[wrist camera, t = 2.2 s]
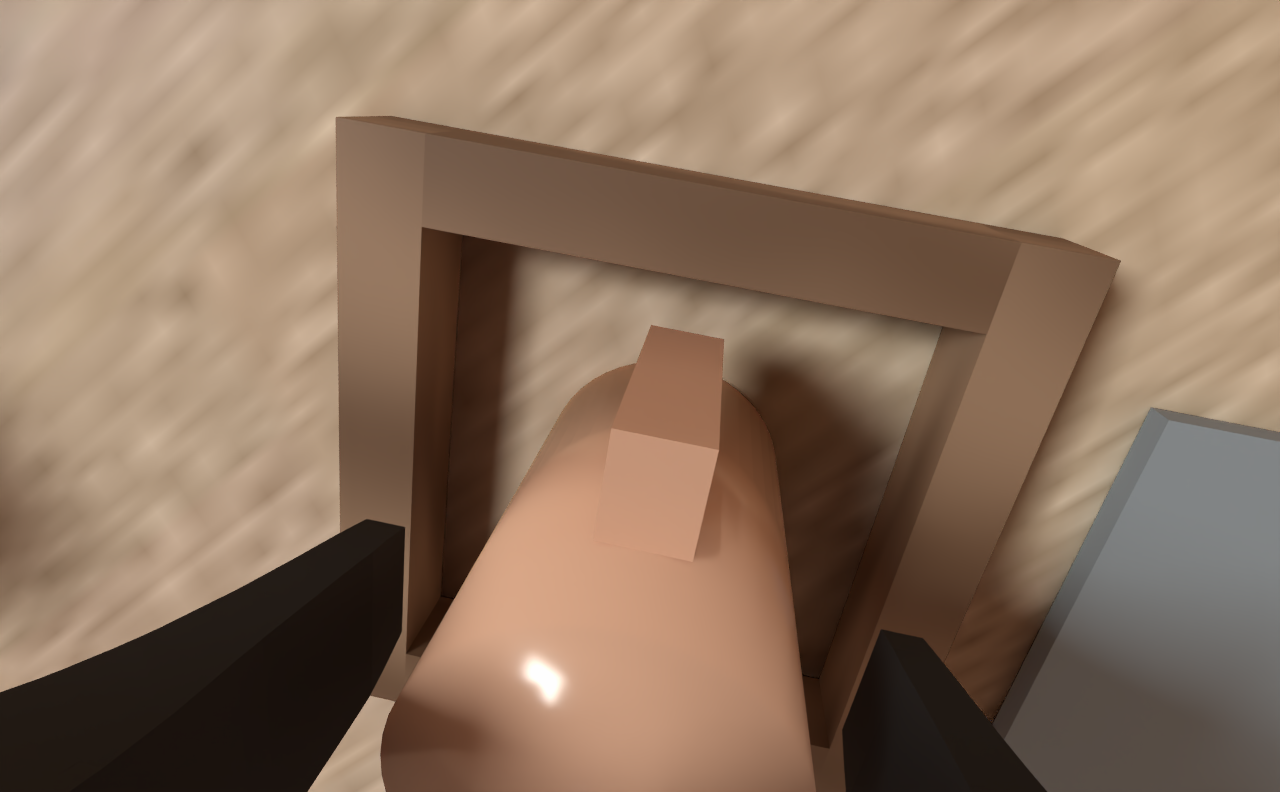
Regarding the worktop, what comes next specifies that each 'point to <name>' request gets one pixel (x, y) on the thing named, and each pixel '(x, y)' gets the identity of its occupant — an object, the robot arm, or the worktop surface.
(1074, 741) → the mat
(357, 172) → the frame
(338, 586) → the robot arm
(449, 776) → the peach capsule with nub
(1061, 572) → the worktop surface
